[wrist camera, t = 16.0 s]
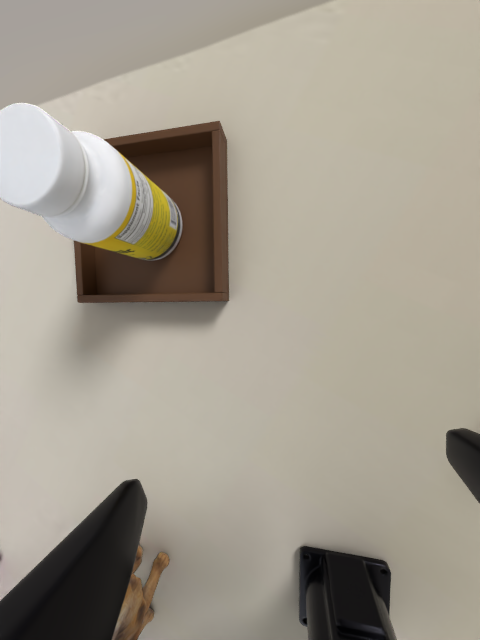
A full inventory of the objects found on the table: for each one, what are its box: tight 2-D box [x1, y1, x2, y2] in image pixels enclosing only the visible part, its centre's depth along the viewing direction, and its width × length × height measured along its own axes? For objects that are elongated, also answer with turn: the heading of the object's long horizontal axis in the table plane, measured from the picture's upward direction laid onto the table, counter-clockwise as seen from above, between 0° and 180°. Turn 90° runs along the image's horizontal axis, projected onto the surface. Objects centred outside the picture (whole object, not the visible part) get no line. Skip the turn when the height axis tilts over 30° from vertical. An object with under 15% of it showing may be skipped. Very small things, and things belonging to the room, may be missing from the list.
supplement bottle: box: [0, 103, 182, 261], centre depth 14 cm, size 5×5×10 cm
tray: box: [74, 121, 229, 303], centre depth 18 cm, size 12×12×2 cm
